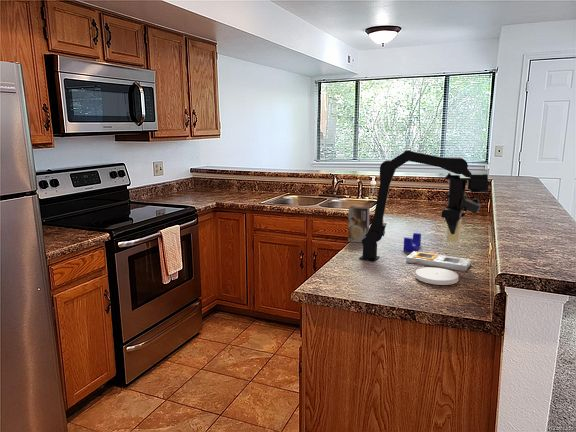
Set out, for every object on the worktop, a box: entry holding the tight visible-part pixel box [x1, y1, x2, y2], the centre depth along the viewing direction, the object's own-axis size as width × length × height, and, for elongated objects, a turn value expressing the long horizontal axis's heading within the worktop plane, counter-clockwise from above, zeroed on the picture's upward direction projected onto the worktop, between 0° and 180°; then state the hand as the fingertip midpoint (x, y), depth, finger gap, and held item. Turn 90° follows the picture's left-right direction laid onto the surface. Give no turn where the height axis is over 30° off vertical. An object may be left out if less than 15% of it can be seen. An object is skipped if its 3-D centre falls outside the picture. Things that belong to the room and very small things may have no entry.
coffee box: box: [347, 205, 370, 243], centre depth 201 cm, size 9×6×16 cm
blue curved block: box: [403, 232, 422, 253], centre depth 188 cm, size 12×4×6 cm, turn 143°
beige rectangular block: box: [446, 217, 463, 243], centre depth 163 cm, size 4×4×9 cm
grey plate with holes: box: [405, 251, 472, 272], centre depth 168 cm, size 10×22×2 cm, turn 58°
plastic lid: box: [414, 266, 459, 286], centre depth 149 cm, size 14×14×2 cm
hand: (453, 232), depth 163 cm, fingers closed on beige rectangular block, 4 cm apart
